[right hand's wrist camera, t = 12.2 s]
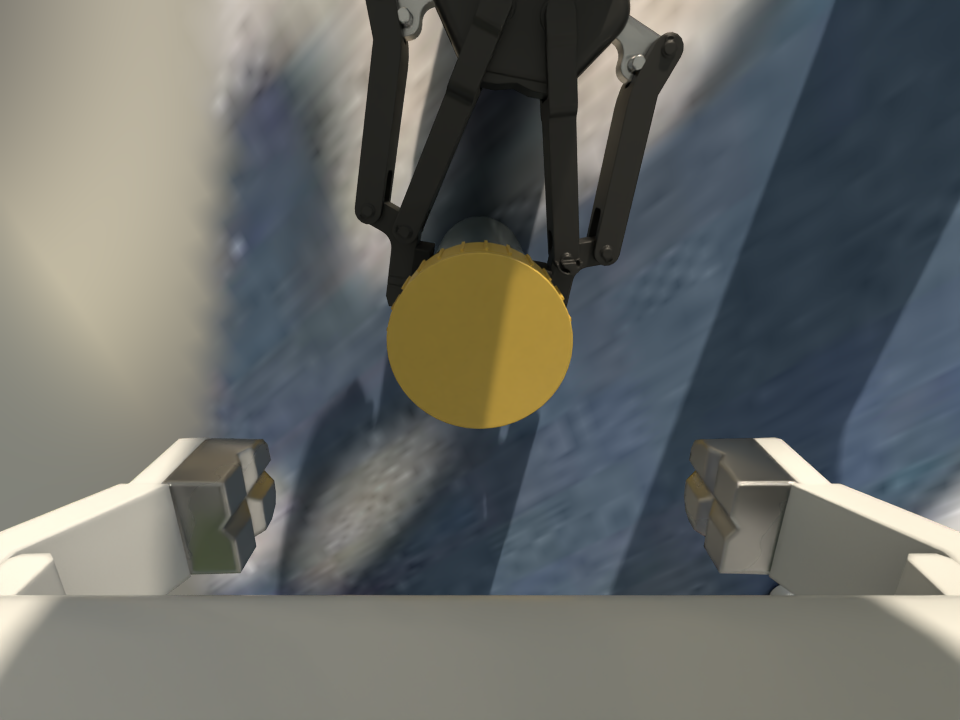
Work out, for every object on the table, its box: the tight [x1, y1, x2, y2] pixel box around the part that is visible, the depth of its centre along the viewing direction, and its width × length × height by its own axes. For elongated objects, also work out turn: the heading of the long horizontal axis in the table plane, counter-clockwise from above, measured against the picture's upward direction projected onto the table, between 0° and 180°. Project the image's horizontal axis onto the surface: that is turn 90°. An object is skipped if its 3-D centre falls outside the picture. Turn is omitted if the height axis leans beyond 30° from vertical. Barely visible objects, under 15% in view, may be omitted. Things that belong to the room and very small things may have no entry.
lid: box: [387, 240, 573, 429], centre depth 18 cm, size 6×6×2 cm
